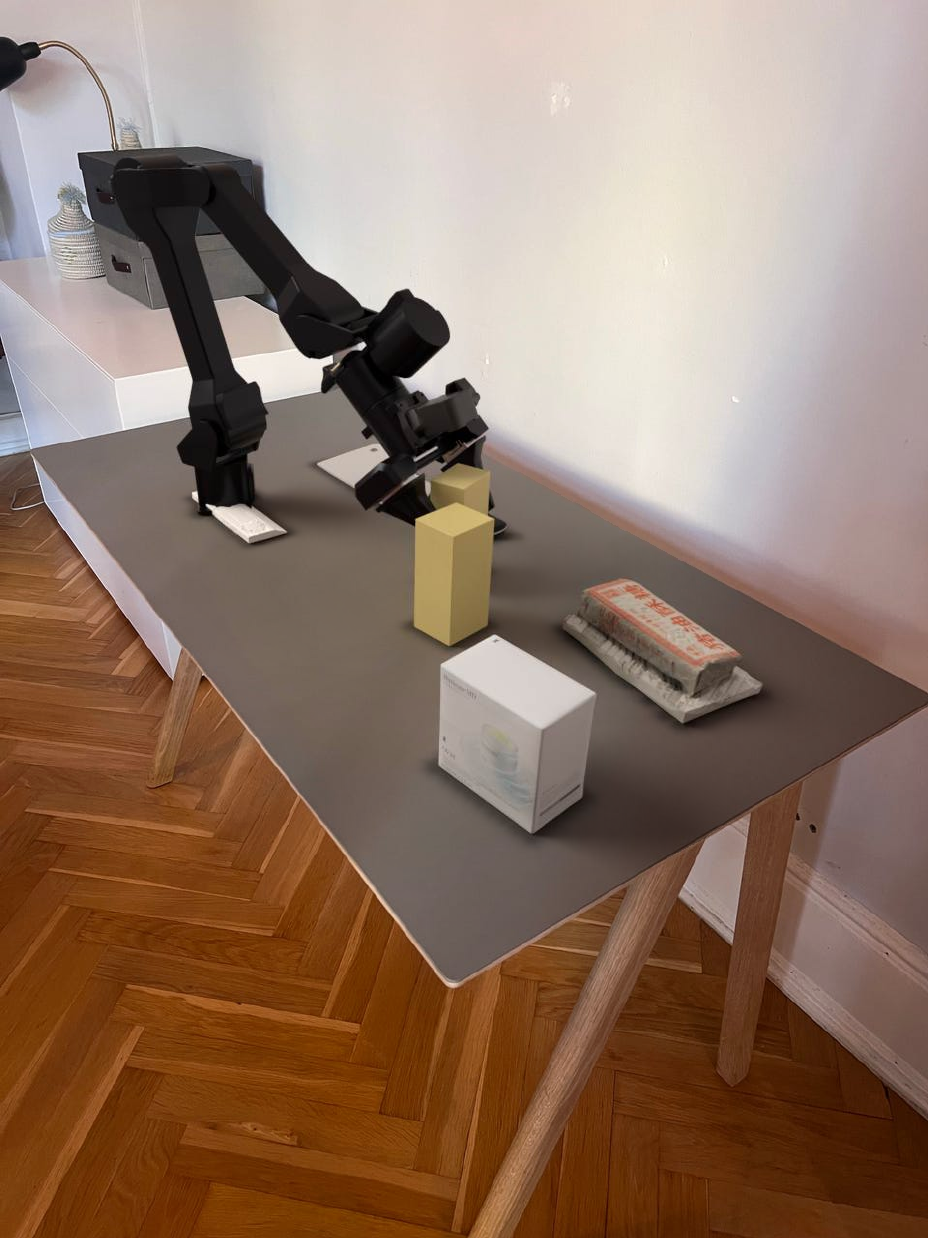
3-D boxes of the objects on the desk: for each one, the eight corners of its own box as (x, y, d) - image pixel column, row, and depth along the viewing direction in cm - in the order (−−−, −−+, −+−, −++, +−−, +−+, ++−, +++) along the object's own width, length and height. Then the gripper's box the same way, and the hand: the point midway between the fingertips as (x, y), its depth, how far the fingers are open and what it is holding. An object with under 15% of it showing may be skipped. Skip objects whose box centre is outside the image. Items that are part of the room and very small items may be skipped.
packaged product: (563, 588, 90) (639, 566, 94) (558, 629, 92) (633, 606, 97) (692, 683, 77) (773, 651, 82) (682, 728, 79) (761, 695, 84)
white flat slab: (229, 489, 118) (228, 481, 117) (287, 534, 108) (286, 525, 107) (192, 498, 115) (191, 490, 114) (247, 544, 105) (247, 535, 104)
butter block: (413, 626, 92) (415, 518, 85) (452, 607, 95) (456, 501, 89) (449, 646, 89) (453, 536, 82) (487, 625, 92) (494, 518, 86)
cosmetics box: (434, 768, 74) (437, 661, 68) (489, 734, 78) (496, 631, 72) (530, 838, 68) (542, 727, 62) (585, 798, 71) (601, 690, 66)
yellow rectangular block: (428, 581, 99) (430, 479, 93) (453, 561, 104) (457, 462, 97) (459, 592, 98) (464, 489, 92) (484, 571, 102) (490, 471, 96)
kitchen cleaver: (315, 458, 125) (376, 436, 130) (317, 469, 126) (377, 447, 131) (451, 546, 105) (518, 517, 109) (452, 559, 106) (518, 529, 110)
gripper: (378, 381, 83) (478, 521, 84) (477, 338, 97) (561, 458, 98) (313, 445, 90) (406, 572, 92) (413, 396, 104) (493, 507, 106)
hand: (471, 524), depth 97 cm, fingers open, 9 cm apart
